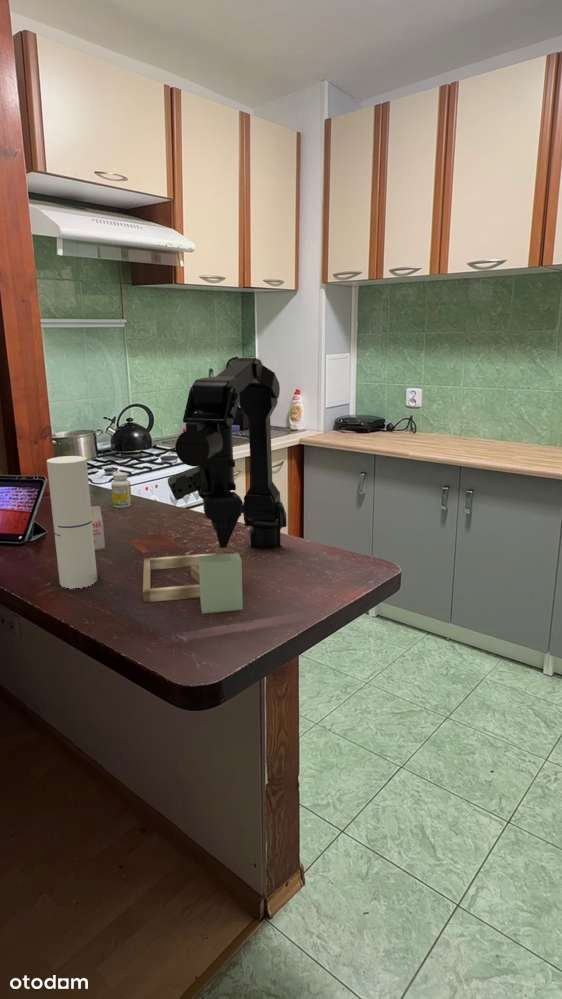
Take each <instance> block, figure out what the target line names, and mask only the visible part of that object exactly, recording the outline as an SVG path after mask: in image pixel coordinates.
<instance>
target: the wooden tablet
mask: <svg viewBox="0 0 562 999" xmlns="http://www.w3.org/2000/svg"><path fill="white" fill-rule="evenodd" d="M130 543H131V545H132V546H133V547H134V548H135V549H136V550H138V551H139V552H140V553H141V554H144V553H145V554H146V553H153V552H160V551H170V550H177V549H185V546H182V545H181V544H179V543H178V542H176V541H175V540H173V539H172V538H170V537H168V536H167V535H165V534H163V533H160V532H157V533H151V534H146V535H143V536H138V537H135V538H131V539H130Z"/></svg>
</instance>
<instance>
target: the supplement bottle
mask: <svg viewBox="0 0 562 999" xmlns="http://www.w3.org/2000/svg"><path fill="white" fill-rule="evenodd" d="M128 476H129V475H128V472H123V471H122V472H115V473H113V474H112V478H113V481H111V496H112V497H111V498H112V506H113V507H114V508H117V509H126V508H129V507H131V506H132V488H131V481H130V480H129V479H128Z"/></svg>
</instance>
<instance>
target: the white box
mask: <svg viewBox="0 0 562 999" xmlns="http://www.w3.org/2000/svg"><path fill="white" fill-rule="evenodd" d="M91 515H92V526H93V537H94V549H95V550H98V551H102V550H101V549H104V550H106V543H105V532H104V521H103V517H102V516H103V515H102V510H101V505H98V506H97V505H95V506H91Z"/></svg>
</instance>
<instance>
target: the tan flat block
mask: <svg viewBox="0 0 562 999" xmlns="http://www.w3.org/2000/svg"><path fill="white" fill-rule="evenodd" d="M190 576H191V577H192V578H193V579H194V580H195V581H197V583H198V584H200V577H199V565H196V566H191V567H190Z"/></svg>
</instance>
